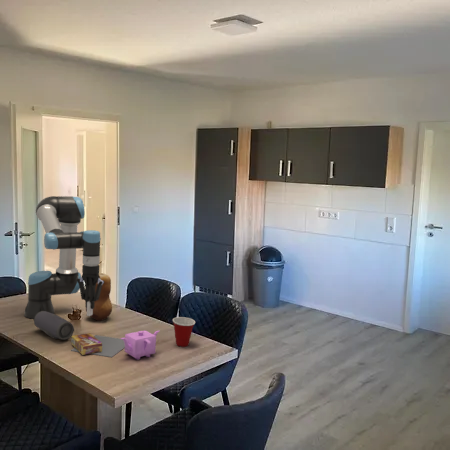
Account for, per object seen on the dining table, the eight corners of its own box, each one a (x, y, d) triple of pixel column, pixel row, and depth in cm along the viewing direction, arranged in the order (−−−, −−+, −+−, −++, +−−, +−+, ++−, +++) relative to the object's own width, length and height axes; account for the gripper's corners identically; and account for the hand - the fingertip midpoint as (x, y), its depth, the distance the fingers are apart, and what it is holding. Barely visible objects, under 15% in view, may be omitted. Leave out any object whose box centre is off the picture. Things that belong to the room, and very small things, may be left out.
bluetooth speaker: (75, 340, 234) (75, 319, 233) (56, 344, 227) (57, 323, 226) (50, 327, 249) (50, 308, 248) (32, 331, 242) (32, 311, 241)
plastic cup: (188, 350, 229) (189, 325, 228) (167, 346, 232) (168, 321, 231) (197, 343, 239) (199, 318, 238) (177, 339, 243) (178, 315, 241)
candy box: (71, 344, 227) (82, 355, 215) (71, 335, 227) (82, 345, 214) (90, 341, 232) (102, 352, 220) (90, 332, 232) (102, 342, 220)
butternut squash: (115, 317, 272) (117, 272, 269) (105, 324, 259) (107, 277, 256) (91, 314, 274) (93, 270, 271) (80, 321, 261) (82, 274, 258)
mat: (70, 350, 220) (70, 350, 220) (95, 335, 241) (95, 334, 241) (111, 357, 215) (111, 356, 215) (133, 341, 237) (133, 340, 237)
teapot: (130, 347, 228) (131, 324, 227) (159, 350, 226) (160, 327, 225) (119, 360, 213) (120, 335, 212) (149, 363, 211) (150, 338, 210)
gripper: (73, 264, 224) (72, 315, 227) (99, 267, 221) (98, 319, 223) (82, 261, 231) (81, 311, 234) (108, 264, 228) (106, 314, 231)
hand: (89, 315), depth 229 cm, fingers closed
